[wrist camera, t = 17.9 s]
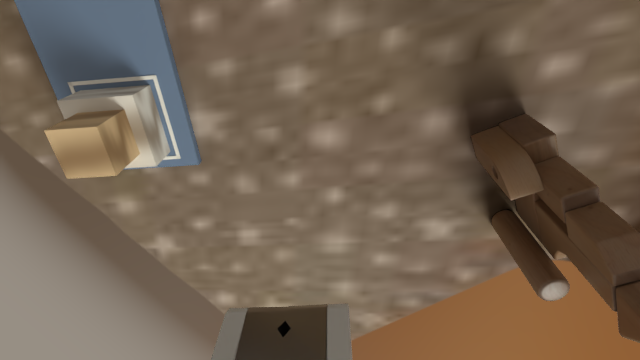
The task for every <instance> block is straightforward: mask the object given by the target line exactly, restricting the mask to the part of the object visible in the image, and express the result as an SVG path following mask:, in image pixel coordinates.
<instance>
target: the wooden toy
mask: <svg viewBox="0 0 640 360" xmlns="http://www.w3.org/2000/svg"><path fill="white" fill-rule="evenodd" d="M471 139H472V143H473V147H474V151H475V155H476V158H477V159H478V161H479V162H480V163H481V165H482V166H483V167H484V168H485V170H486V171H487V172H488V173H489V174H490V176H491V177H492V178H493V179H494V181H495V182H496V183H497V184H498V186H499V187H500V188H501V189H502V190H503V192H504V193H505V194H506V195H507V197H508V198H509V199H510V200H514V199H515V203H516V207H517V212H518V214H519V216H520V217H521V218H522V219H523V221H524V222H525V223H526V224H527V226H528V227H529V228H530V229H531V231H532V232H533V233H534V234H535V236H536V237H537V238H538V239H539V241H540V242H541V243H542V244H543V245H544V247H545V248H546V249H547V250H548V252H549V253H550V254H551V255H552V257H553V258H554V259H555V260H557V259H561V258H564V257H568V258H569V259H570V260H571V261H572V263H573V264H574V265H575V266H576V267H577V268H578V270H579V271H580V272H581V273H582V274H583V276H584V277H585V278H586V279H587V280H588V282H589V283H590V284H591V285H592V286H593V287H594V289H595V290H596V291H597V292H598V293H599V294H600V296H601V297H602V298H603V299H604V300H605V302H606V303H607V304H608V305H609V306H610V308H611V309H612V310H613V311H617V314H618V327H619V333H620V335H621V336H622V337H624V338H627V339H630V340H633V341H636V342H639V343H640V233H639V232H638V231H637V230H636V229H634V228H633V227H632V226H631V225H630V224H628V223H627V222H626V221H625V220H623V219H622V218H621V217H620V216H619V215H617V214H616V213H615V212H614V211H613V210H611V209H610V208H609V207H608V206H606V205H605V204H604V203H603V202H600V196H599V188H598V186H597V185H596V184H594V183H593V182H592V181H591V180H589V179H588V178H587V177H585V176H584V175H583V174H582V173H580V172H579V171H578V170H576V169H575V168H574V167H573V166H571V165H570V164H569V163H567V162H566V161H565V160H564V159H562V158H561V157H559V154H558V147H557V140H556V134H555V133H553V132H552V131H551V130H549V129H548V128H546V127H545V126H543V125H542V124H540V123H539V122H537V121H536V120H535V119H533V118H532V117H530V116H529V115H527V114H523V115H520V116H517V117H515V118H512V119H509V120H506V121H504V122H501V123H499V126H496V127H493V128H490V129H487V130H485V131H482V132H479V133H477V134H474V135H471ZM492 226H493V228H494V229H495V231H496V232H497V234H498V235H499V237H500V238H501V240H502V242H503V243H504V245H505V246H506V248H507V249H508V251H509V252H510V254H511V255H512V257H513V258H514V260H515V261H516V263H517V265H518V266H519V268H520V269H521V271H522V272H523V274H524V275H525V277H526V278H527V280H528V281H529V283H530V284H531V286H532V287H533V289H534V291H535V292H536V294H537V295H538V296H539V297H540V298H542V299H543V300H546V301H555V300H558V299H561V298H562V297H564V296H565V295H566V294H567V293H568V291H569V288H570V287H569V283H568V281H567V279H566V278H565V277H564V276H563V274H562V273H561V272H560V271H559V269H558V268H557V267H556V265H555V264H554V263H553V262H552V260H551V259H550V258H549V256H548V255H547V254H546V253H545V251H544V250H543V249H542V248H541V246H540V245H539V244H538V242H537V241H536V240H535V239H534V237H533V236H532V235H531V233H530V232H529V231H528V230H527V228H526V227H525V226H524V225H523V223H522V222H521V221H520V219H519V218H518V217H517V216H516V214H515V213H513V212H511V211H509V210H503V211H500V212H498V213H496V214H495V215H494V216H493V218H492Z"/></svg>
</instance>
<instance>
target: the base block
mask: <svg viewBox="0 0 640 360" xmlns="http://www.w3.org/2000/svg"><path fill="white" fill-rule="evenodd" d="M57 103H58V105H59V108H60V110H61V112H62V114H63V117H64V119H67V118H69V117H71V116H73V115H75V114H76V113H83V112H96V111H109V110H123V109H124V110H125V112H126V115H127V118H128V121H129V124H130V127H131V129H132V132H133V135H134V138H135V141H136V144H137V146H138V149H139V152H140V154H139V155H138V156H137V157H136V158H135V159H134V160H133V161H132V162H131V163H130V164H128V165H127V166H126V167H125V168H140V167H155V166H157V165H158V164H159V163H160V162H161V161H162V160H163V159H164V158H165V157H166V156H167V155H168V154H169V152H170V148H169V145H168V142H167V138H166V135H165V132H164V129H163V125H162V122H161V119H160V116H159V112H158V109H157V106H156V103H155V99H154V96H153V93H152V90H151V87H150V85H143V86H130V87H118V88H105V89H93V90H80V91H78V92H76V93H74V94H71V95H69V96H67V97H65V98H62V99H60V100H58V101H57Z"/></svg>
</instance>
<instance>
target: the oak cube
mask: <svg viewBox="0 0 640 360" xmlns="http://www.w3.org/2000/svg"><path fill="white" fill-rule="evenodd" d="M44 131H45V134H46V136H47V138H48V140H49V142H50V144H51V146H52V148H53V150H54V152H55V154H56V157H57V159H58V161H59V163H60V165H61V167H62V169H63V171H64V173H65V175H66V177H67V179H71V178H86V177H102V176H116V175H118V174H119V173H120V172H121V171H122V170H123V169H124V168H125V167H126V166H127V165H128V164H130V163H131V162H132V161H133V160H134V159H135V158H136V157H137V156H138V155H139V154H140V152H139V149H138V146H137V144H136V141H135V138H134V135H133V132H132V129H131V127H130V124H129V121H128V118H127V115H126V112H125V110H124V109H123V110H109V111H96V112H83V113H76V114H75V115H73V116H71V117H69V118H67V119H65V120H63V121H61V122H59V123H58V124H56V125H54V126H52V127H50V128H48V129H46V130H44Z"/></svg>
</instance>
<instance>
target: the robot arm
mask: <svg viewBox="0 0 640 360" xmlns="http://www.w3.org/2000/svg"><path fill="white" fill-rule="evenodd" d="M211 360H352V349H351V333H350V318H349V306H348V304H324V305H305V306H289V307H252V308H229V310H228V311H227V313H226V314H225V318H224V320H223V324H222V327H221V330H220V333H219V336H218V339H217V342H216V346H215V349H214V352H213V355H212V358H211Z"/></svg>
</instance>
